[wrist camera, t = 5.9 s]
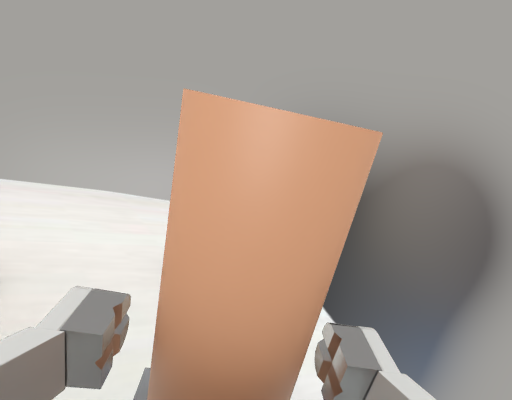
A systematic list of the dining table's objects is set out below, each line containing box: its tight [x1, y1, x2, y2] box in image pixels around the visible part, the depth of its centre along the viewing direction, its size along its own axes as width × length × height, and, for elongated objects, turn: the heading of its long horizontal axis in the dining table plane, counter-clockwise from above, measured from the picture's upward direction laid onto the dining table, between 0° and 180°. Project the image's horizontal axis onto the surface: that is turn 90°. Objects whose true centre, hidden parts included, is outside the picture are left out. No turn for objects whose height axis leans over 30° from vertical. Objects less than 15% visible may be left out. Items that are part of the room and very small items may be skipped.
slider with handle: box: [133, 89, 383, 400], centre depth 8 cm, size 7×6×16 cm
